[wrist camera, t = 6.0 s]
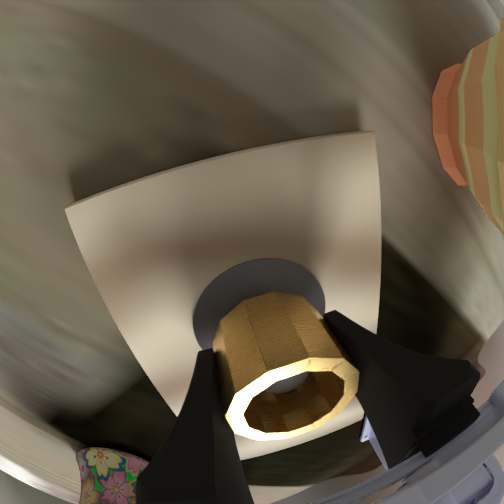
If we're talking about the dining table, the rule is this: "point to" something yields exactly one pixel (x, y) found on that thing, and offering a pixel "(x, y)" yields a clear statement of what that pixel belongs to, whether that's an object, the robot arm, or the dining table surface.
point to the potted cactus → (474, 124)
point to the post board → (236, 252)
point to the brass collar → (280, 367)
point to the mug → (108, 475)
